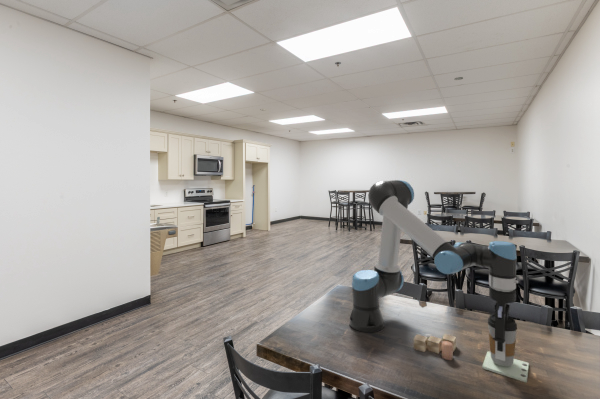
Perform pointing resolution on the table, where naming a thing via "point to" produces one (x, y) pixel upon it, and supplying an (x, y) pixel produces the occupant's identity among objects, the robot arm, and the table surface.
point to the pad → (507, 368)
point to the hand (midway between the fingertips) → (501, 352)
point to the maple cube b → (434, 344)
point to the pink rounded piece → (447, 350)
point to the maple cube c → (450, 340)
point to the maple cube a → (420, 343)
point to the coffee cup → (509, 340)
